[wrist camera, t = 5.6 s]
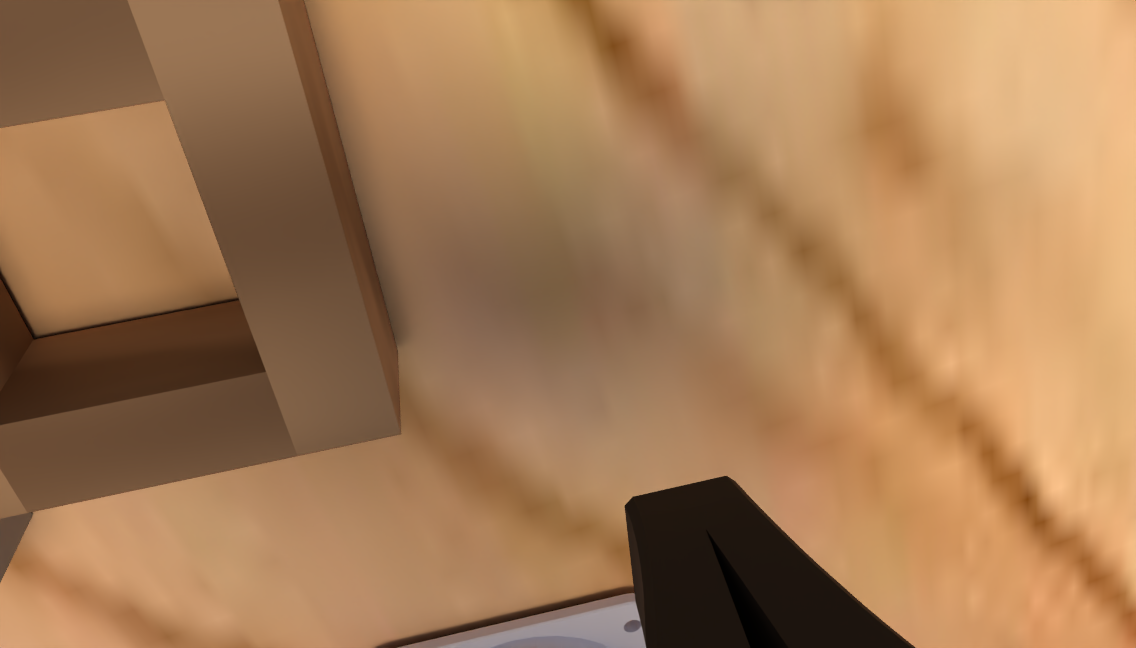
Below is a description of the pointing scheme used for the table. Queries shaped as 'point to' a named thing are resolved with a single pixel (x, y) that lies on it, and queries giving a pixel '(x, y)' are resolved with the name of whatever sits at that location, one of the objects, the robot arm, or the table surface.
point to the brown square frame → (246, 239)
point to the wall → (11, 537)
